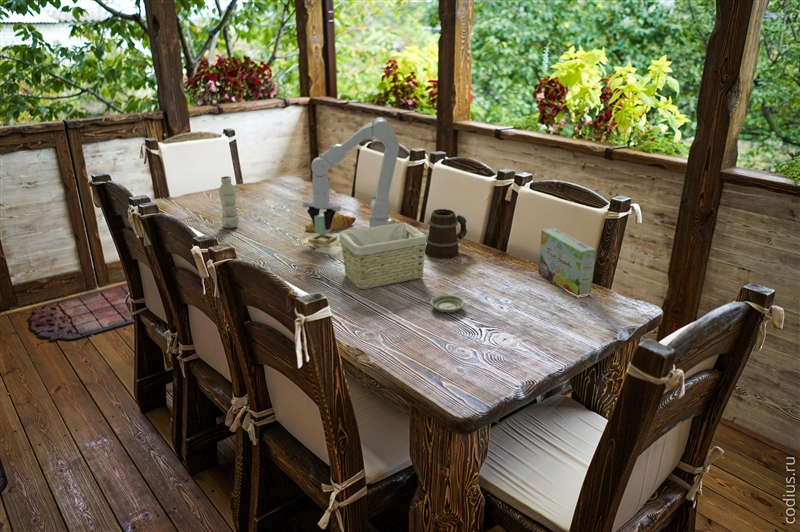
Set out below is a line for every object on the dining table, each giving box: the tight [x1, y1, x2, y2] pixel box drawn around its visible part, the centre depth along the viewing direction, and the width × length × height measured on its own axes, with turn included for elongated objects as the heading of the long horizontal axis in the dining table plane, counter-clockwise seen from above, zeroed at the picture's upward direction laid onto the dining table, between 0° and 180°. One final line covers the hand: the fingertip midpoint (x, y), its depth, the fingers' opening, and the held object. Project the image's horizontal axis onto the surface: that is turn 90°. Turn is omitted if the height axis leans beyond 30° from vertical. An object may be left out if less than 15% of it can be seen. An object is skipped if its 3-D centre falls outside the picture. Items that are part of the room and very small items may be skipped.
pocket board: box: [298, 233, 341, 248], centre depth 221 cm, size 14×11×2 cm
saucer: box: [429, 294, 466, 313], centre depth 170 cm, size 10×10×2 cm
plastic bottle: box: [218, 176, 240, 229], centre depth 232 cm, size 6×7×20 cm
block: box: [314, 212, 331, 235], centre depth 219 cm, size 4×4×6 cm
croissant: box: [304, 212, 357, 232], centre depth 235 cm, size 21×10×8 cm, turn 120°
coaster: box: [314, 245, 342, 256], centre depth 213 cm, size 8×8×1 cm
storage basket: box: [338, 222, 427, 290], centre depth 189 cm, size 24×16×15 cm
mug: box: [425, 208, 468, 260], centre depth 210 cm, size 16×12×15 cm
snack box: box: [538, 227, 597, 295], centre depth 184 cm, size 21×6×15 cm, turn 21°
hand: (322, 228), depth 220 cm, fingers closed on block, 4 cm apart
